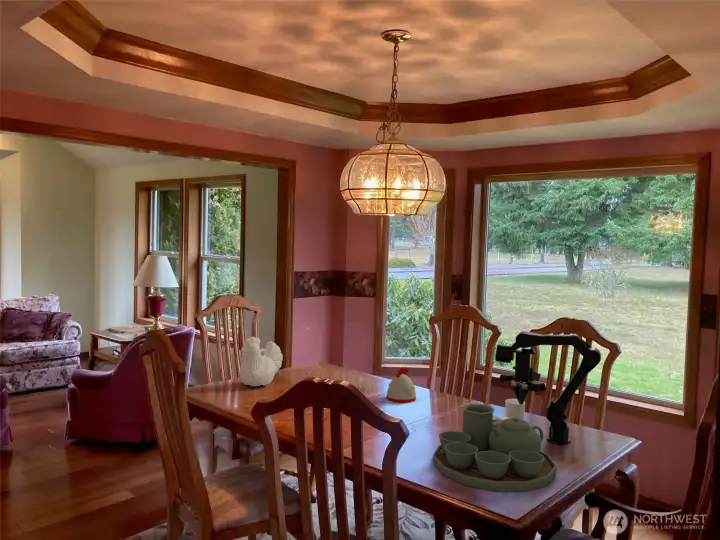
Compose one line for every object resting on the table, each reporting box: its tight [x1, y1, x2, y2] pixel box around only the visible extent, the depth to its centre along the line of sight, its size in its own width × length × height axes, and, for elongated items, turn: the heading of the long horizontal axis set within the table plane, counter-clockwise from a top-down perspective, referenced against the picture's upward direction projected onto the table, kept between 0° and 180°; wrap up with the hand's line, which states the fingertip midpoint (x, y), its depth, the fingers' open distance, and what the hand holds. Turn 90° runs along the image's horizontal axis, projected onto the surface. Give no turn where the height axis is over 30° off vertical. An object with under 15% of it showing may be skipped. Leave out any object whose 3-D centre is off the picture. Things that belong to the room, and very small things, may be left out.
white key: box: [497, 416, 509, 424], centre depth 230 cm, size 4×4×3 cm
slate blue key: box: [493, 414, 500, 422], centre depth 235 cm, size 4×4×3 cm
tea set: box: [432, 403, 558, 492], centre depth 199 cm, size 40×40×16 cm
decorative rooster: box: [239, 336, 284, 387], centre depth 299 cm, size 25×16×25 cm, turn 126°
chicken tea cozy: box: [385, 366, 417, 404], centre depth 279 cm, size 14×14×15 cm
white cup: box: [504, 398, 526, 421], centre depth 244 cm, size 8×8×10 cm
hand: (521, 404), depth 231 cm, fingers closed
